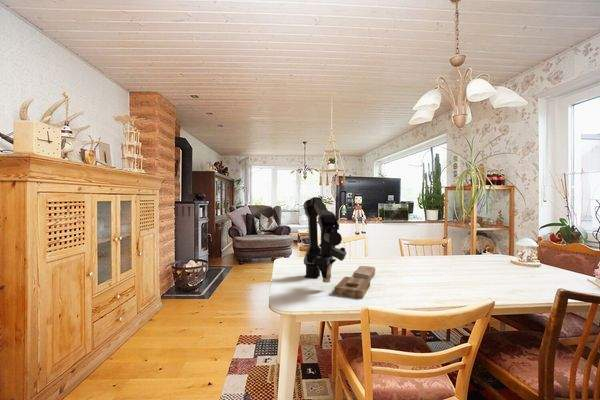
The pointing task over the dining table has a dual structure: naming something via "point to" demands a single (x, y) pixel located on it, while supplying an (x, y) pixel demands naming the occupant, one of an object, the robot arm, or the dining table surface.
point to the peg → (328, 275)
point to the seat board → (352, 287)
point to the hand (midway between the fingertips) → (326, 276)
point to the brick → (364, 272)
